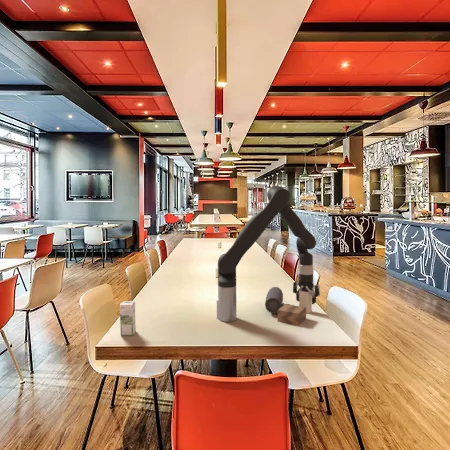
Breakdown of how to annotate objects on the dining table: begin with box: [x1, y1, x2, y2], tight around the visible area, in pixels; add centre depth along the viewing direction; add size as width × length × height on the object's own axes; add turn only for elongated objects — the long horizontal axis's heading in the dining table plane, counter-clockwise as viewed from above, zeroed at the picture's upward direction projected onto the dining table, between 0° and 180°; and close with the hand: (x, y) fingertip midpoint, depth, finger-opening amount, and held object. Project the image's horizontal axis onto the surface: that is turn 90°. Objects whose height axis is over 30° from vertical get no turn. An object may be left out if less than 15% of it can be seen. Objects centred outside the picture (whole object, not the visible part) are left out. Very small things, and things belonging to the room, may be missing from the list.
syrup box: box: [119, 300, 137, 337], centre depth 157 cm, size 6×6×14 cm
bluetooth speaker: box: [264, 286, 284, 314], centre depth 191 cm, size 23×9×10 cm, turn 168°
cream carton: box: [298, 291, 313, 315], centre depth 186 cm, size 5×5×12 cm
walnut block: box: [276, 303, 307, 326], centre depth 173 cm, size 11×11×6 cm
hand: (306, 302), depth 186 cm, fingers open, 8 cm apart
